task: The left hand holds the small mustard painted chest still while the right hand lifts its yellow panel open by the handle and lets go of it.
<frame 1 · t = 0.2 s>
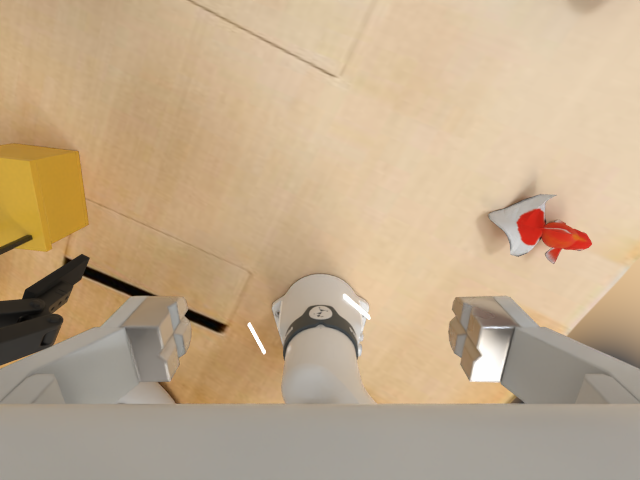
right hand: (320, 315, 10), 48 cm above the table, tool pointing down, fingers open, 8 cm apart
chest: (53, 185, 57), on the table
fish: (523, 223, 60), on the table
white rounded slotted block: (143, 394, 75), on the table
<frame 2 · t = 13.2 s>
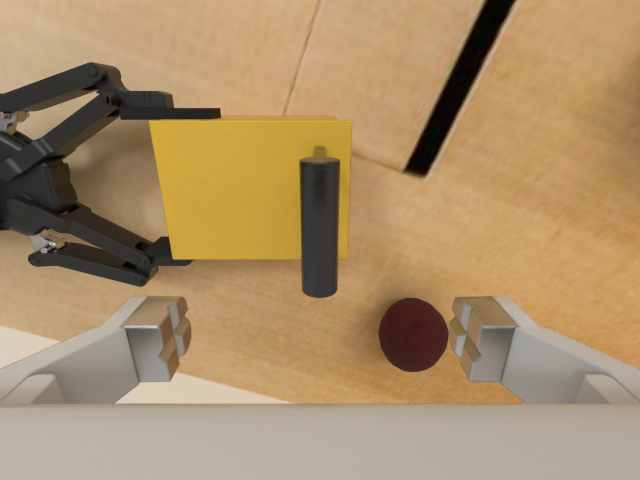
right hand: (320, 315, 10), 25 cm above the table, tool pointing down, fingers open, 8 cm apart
left hand: (223, 184, 28), fingers closed on chest, 10 cm apart
chest: (269, 170, 34), on the table, touching left hand
yellow panel: (245, 209, 21), point 14 cm above the table, hinge at 0.0°
potato: (404, 314, 40), on the table
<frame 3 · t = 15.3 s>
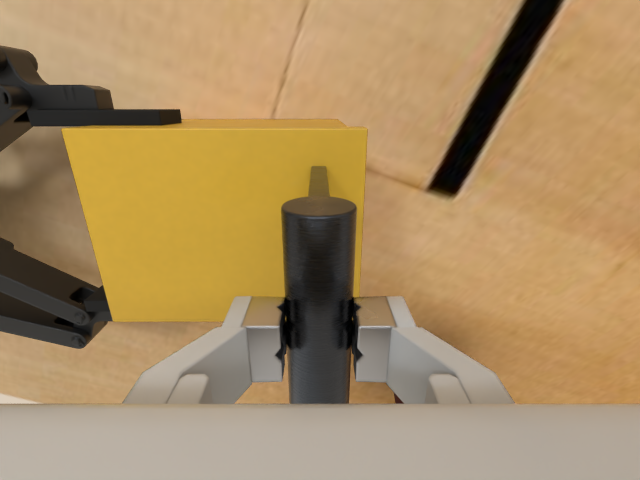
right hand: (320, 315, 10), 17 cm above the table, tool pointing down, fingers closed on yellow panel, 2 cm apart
chest: (254, 188, 26), on the table, touching left hand
yellow panel: (204, 266, 14), point 14 cm above the table, hinge at -0.1°, touching right hand
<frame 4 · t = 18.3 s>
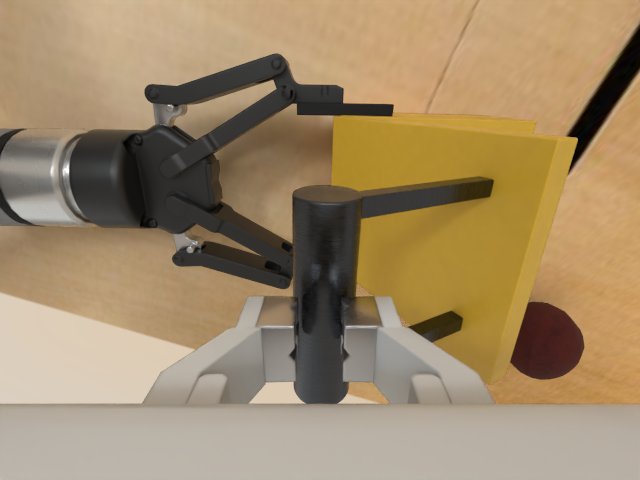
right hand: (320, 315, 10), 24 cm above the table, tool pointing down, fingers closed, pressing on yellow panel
left hand: (383, 185, 26), fingers closed on chest, 10 cm apart
chest: (402, 170, 32), on the table, touching left hand
yellow panel: (341, 235, 16), point 17 cm above the table, hinge at 59.0°, touching right hand
potato: (521, 318, 38), on the table
when the left hand's fingers open (7 cm above the table, at t = 23.0 s): chest stays where it is, on the table.
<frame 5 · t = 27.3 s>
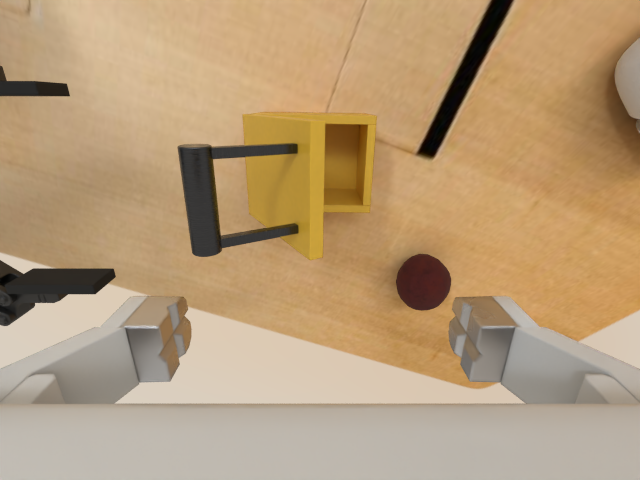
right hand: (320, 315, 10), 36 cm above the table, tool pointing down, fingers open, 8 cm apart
chest: (314, 154, 44), on the table
yellow panel: (233, 182, 28), point 17 cm above the table, hinge at 59.2°
potato: (416, 269, 50), on the table
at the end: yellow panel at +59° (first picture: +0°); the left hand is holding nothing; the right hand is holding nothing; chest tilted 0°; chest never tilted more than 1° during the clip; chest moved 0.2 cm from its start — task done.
